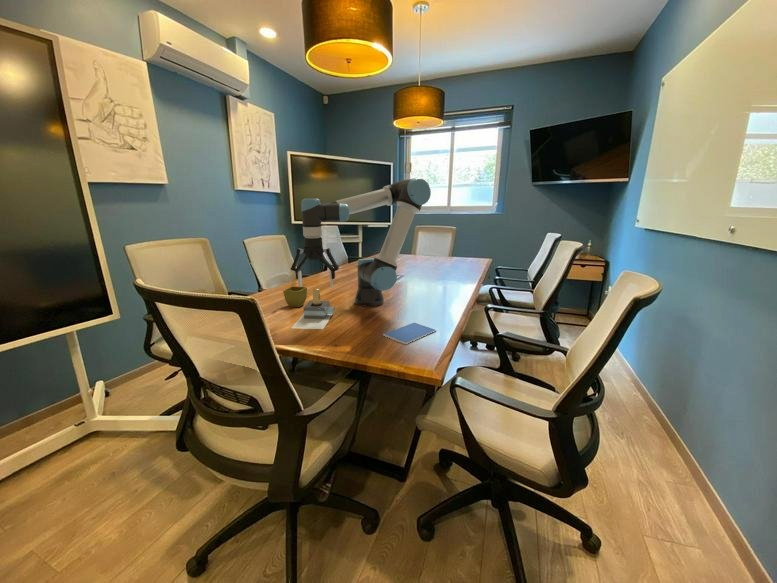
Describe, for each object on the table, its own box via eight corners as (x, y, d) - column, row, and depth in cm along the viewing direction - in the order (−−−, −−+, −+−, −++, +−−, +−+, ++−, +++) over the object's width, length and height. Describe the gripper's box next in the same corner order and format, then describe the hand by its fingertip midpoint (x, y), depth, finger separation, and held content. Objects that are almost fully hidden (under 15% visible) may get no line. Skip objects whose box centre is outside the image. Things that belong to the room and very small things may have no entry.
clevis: (336, 311, 149) (335, 301, 148) (331, 319, 139) (331, 308, 137) (310, 310, 149) (310, 300, 148) (304, 318, 139) (303, 307, 138)
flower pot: (283, 307, 159) (282, 290, 156) (293, 302, 167) (291, 285, 164) (300, 309, 157) (298, 291, 154) (308, 304, 165) (307, 287, 162)
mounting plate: (334, 314, 149) (334, 311, 149) (323, 332, 128) (323, 329, 128) (306, 313, 150) (306, 310, 149) (291, 331, 129) (290, 328, 128)
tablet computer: (413, 324, 139) (414, 321, 139) (437, 332, 130) (437, 329, 130) (381, 336, 126) (381, 333, 125) (405, 346, 117) (406, 343, 117)
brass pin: (321, 314, 145) (320, 288, 142) (319, 316, 142) (318, 290, 139) (314, 314, 145) (313, 288, 142) (313, 316, 142) (311, 290, 139)
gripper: (344, 236, 138) (346, 284, 143) (286, 236, 138) (290, 284, 144) (340, 237, 130) (343, 288, 136) (280, 238, 131) (284, 288, 137)
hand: (316, 286), depth 140 cm, fingers open, 13 cm apart
